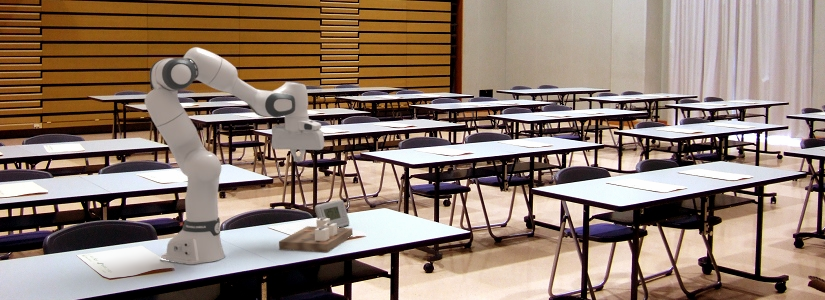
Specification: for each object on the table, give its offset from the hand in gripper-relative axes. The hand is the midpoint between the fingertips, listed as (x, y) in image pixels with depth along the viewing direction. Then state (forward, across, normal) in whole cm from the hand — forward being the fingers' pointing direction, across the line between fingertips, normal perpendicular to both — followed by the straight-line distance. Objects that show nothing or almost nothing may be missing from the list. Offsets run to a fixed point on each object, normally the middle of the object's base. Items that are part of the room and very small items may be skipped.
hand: (298, 161), depth 317 cm
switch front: (+28, +12, -8) cm, 31 cm away
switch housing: (+31, +6, 0) cm, 32 cm away
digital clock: (+31, +3, +25) cm, 40 cm away
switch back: (+28, +6, +8) cm, 29 cm away
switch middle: (+28, +12, 0) cm, 30 cm away
